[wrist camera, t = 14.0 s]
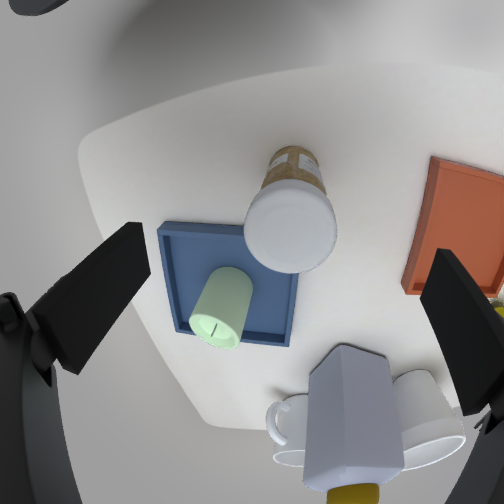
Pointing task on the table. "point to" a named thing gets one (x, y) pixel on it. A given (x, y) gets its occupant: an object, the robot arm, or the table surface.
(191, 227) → the blue tray
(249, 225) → the sprinkles bottle
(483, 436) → the robot arm
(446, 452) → the cup
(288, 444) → the mug
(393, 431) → the soap bottle
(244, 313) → the candle
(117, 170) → the table surface
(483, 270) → the terracotta tray
